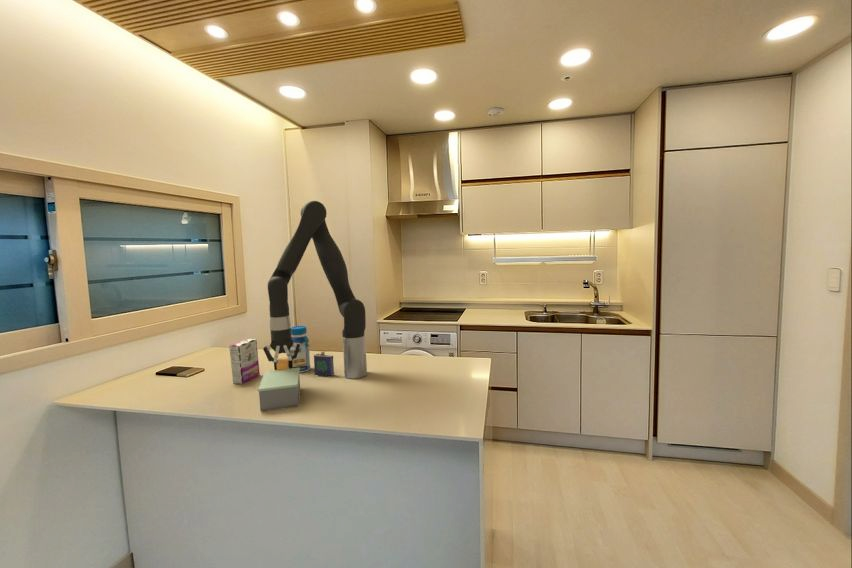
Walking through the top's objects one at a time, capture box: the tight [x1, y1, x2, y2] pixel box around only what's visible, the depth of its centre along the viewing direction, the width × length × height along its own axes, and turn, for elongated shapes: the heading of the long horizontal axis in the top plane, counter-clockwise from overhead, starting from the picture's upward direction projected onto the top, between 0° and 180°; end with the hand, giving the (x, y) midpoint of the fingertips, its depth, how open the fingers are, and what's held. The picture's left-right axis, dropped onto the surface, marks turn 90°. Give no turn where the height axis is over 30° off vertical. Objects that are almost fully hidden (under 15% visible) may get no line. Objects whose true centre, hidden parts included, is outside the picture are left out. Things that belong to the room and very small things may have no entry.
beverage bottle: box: [290, 325, 311, 374], centre depth 162 cm, size 8×8×20 cm
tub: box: [258, 373, 301, 412], centre depth 130 cm, size 12×16×7 cm
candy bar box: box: [229, 338, 261, 385], centre depth 153 cm, size 11×5×16 cm, turn 168°
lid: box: [257, 356, 300, 393], centre depth 133 cm, size 12×23×4 cm, turn 16°
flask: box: [313, 350, 335, 377], centre depth 155 cm, size 9×3×11 cm, turn 74°
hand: (283, 369), depth 142 cm, fingers closed on lid, 4 cm apart
